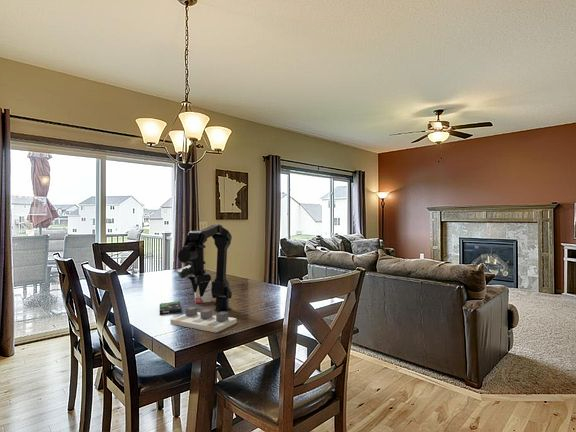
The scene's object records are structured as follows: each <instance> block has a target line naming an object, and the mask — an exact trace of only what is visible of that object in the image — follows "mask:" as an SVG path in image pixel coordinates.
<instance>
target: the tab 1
mask: <svg viewBox="0 0 576 432" xmlns="http://www.w3.org/2000/svg"><path fill="white" fill-rule="evenodd" d="M197 312H198V307H197V306H190V307H187V308H185V314H186V315H187V316H193V315H196V314H197Z"/></svg>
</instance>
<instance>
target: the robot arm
mask: <svg viewBox="0 0 576 432" xmlns="http://www.w3.org/2000/svg"><path fill="white" fill-rule="evenodd" d="M208 238H212V239H213V240H214V241H213V242H214V245H215V248H216V249H217V251H216V270H215V271H216V274H215V278H214V280H213V281H212V275H211V274H209V273H207V272H206V271H207V270H205V265H206V261H205V254H204V253H205V252H204V251H205V250H204V249H206V245H205V243H206V242H207V241H208ZM232 239H233V238H232V234H231V232H230V231H229V230H228V229H226V228H225V227H223V226H222V225H221V224H211V225H210V226H207V227H204V228H202V229H199V230H189V232H188V233H187V236H186V238H185V241H184V243H183V246H182V248H181V250H180V251H179V252H178V254H177V257H178V260H179V261H180V262H181V263H182V264H187V263H188V265H185V266H183V267H181V268H179V269H178V270H176V271H177V274H178V277H179V278H180V279H185V278H187V279H188V280H189V282H190V284H191V288H192V291H193V293H195V292H196V291H197V288H199V294H200V297H202V296H203V295H204V292H205V290H206V288H207V286H208V284H209V282H210V281H211V297H212V298H213V299H215V308H213V311H216V312H217V311H218V312H228V311H229V310H231V309H232V307H229V303H230V302H229V299H232V296H233V292H232V290H231V288H230V285H229V284H230V283H229V281H228V278H227V261H228V260H227V259H228V249H229V247H230V245H231V242H232Z"/></svg>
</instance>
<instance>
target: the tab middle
mask: <svg viewBox="0 0 576 432" xmlns="http://www.w3.org/2000/svg"><path fill="white" fill-rule="evenodd" d="M212 314H213V309H208V308H206V309H202V310H201V311H200V316H201V318H204V319H208V318H210V317H212Z"/></svg>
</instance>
